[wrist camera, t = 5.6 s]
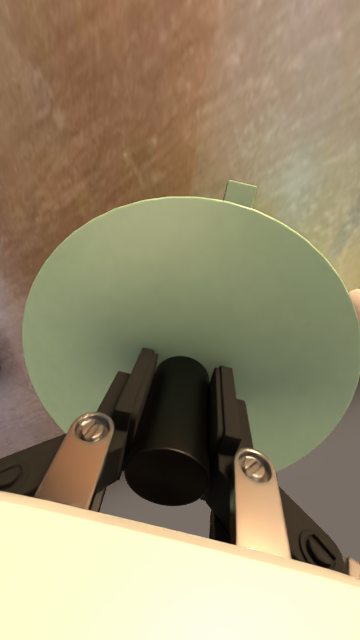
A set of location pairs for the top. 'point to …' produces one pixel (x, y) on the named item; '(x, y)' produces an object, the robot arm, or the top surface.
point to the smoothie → (356, 301)
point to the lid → (194, 333)
